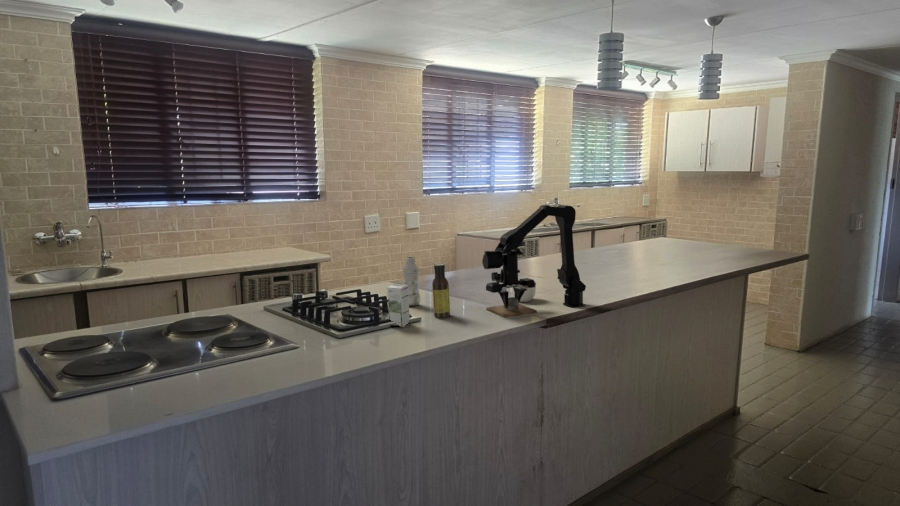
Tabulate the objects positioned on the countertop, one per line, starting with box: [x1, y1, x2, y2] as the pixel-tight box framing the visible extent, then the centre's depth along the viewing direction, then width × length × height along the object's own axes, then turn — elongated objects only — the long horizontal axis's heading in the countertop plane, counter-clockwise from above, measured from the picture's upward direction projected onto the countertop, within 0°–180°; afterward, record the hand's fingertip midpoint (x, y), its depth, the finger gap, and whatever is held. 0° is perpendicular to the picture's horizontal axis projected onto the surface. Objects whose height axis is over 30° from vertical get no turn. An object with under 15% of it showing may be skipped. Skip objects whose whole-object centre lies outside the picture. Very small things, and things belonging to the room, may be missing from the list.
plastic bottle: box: [402, 256, 421, 307], centre depth 236 cm, size 6×7×20 cm
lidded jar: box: [509, 281, 537, 303], centre depth 238 cm, size 11×11×9 cm
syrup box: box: [386, 284, 411, 328], centre depth 207 cm, size 6×6×14 cm
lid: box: [485, 296, 538, 319], centre depth 220 cm, size 14×14×5 cm
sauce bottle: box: [431, 263, 451, 319], centre depth 217 cm, size 6×6×20 cm
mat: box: [483, 309, 540, 320], centre depth 220 cm, size 16×16×1 cm
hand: (511, 307), depth 220 cm, fingers closed on lid, 4 cm apart
